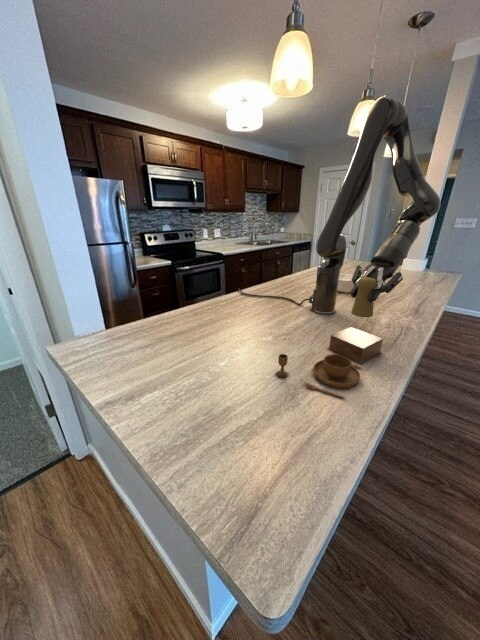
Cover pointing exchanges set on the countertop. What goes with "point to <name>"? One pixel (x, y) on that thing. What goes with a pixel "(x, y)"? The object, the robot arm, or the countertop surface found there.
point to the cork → (364, 297)
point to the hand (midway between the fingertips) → (360, 298)
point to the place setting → (329, 371)
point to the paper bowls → (345, 283)
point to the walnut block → (355, 344)
